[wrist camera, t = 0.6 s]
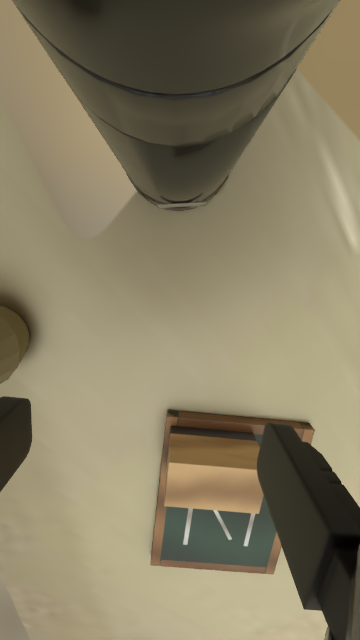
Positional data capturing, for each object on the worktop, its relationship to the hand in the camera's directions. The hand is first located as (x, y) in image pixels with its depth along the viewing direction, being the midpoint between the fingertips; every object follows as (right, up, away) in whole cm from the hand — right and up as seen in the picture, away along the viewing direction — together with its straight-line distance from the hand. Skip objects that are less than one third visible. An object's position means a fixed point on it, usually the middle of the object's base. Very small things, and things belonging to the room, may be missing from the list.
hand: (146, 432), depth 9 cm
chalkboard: (+7, -17, +23) cm, 29 cm away
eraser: (+4, -10, +19) cm, 22 cm away
